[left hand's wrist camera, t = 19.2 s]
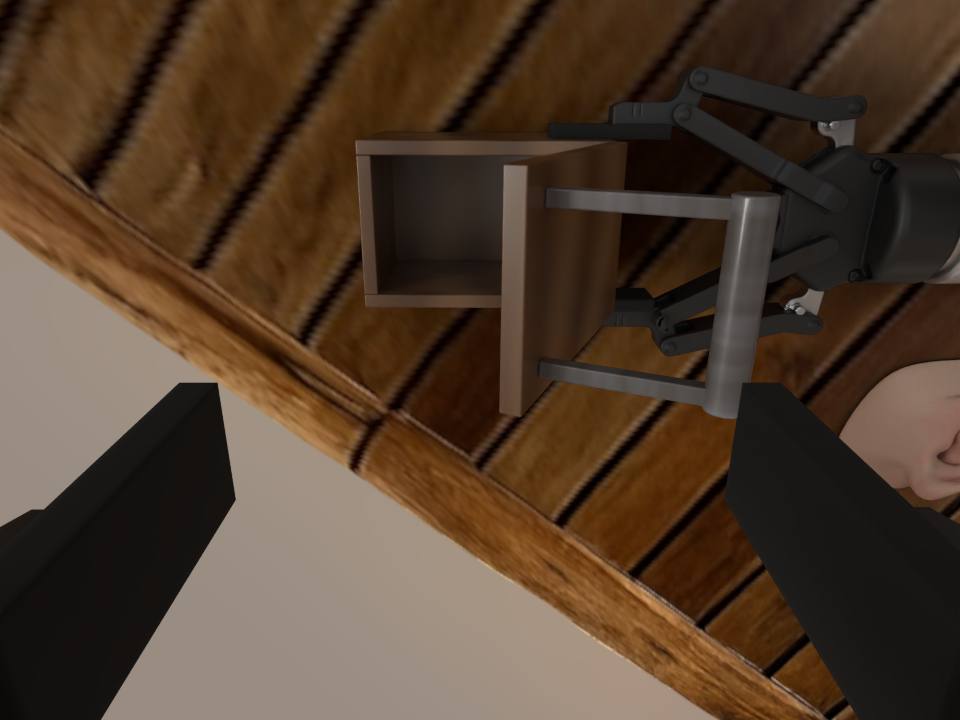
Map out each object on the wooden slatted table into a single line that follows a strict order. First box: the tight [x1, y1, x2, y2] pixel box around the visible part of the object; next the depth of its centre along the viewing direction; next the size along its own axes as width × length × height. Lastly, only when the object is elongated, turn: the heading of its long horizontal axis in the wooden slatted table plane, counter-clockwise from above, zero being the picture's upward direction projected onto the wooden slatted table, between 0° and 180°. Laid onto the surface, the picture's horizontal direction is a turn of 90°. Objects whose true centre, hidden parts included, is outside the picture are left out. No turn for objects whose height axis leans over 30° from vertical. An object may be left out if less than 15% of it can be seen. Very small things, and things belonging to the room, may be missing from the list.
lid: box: [500, 141, 781, 418], centre depth 28 cm, size 15×9×9 cm
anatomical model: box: [839, 360, 960, 500], centre depth 50 cm, size 13×4×12 cm
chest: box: [355, 132, 617, 308], centre depth 41 cm, size 14×9×10 cm, turn 90°
